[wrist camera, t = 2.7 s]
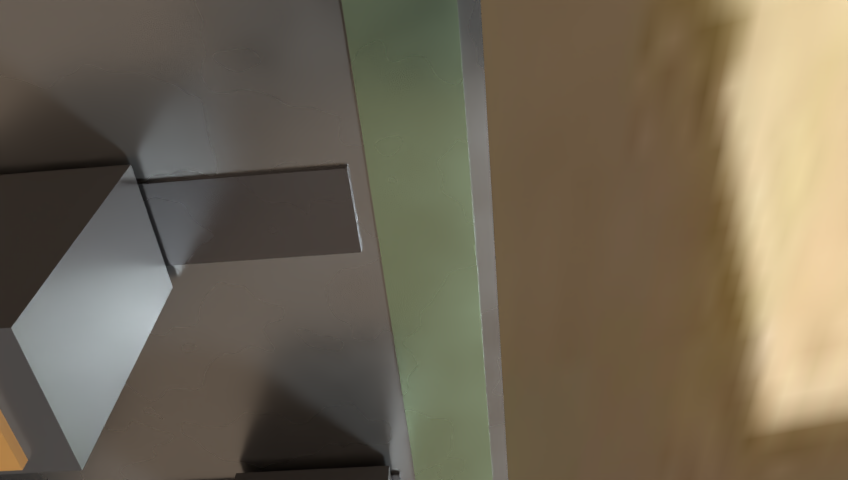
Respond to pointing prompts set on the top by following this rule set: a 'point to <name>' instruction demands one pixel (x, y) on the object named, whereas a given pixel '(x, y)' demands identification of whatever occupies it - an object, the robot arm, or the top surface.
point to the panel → (284, 225)
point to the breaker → (322, 474)
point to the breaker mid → (71, 309)
